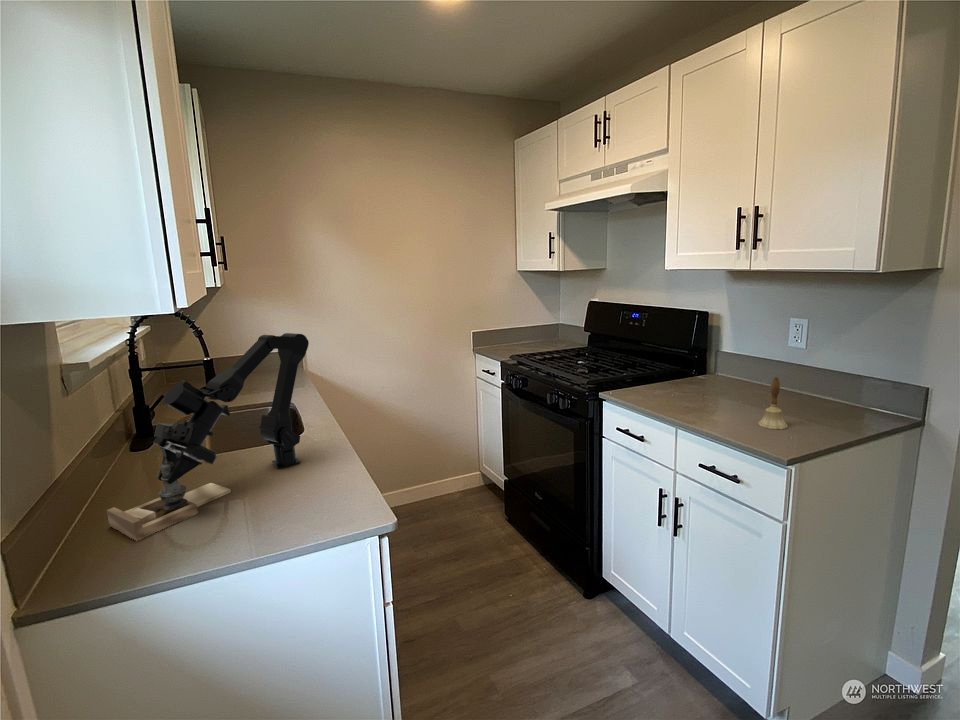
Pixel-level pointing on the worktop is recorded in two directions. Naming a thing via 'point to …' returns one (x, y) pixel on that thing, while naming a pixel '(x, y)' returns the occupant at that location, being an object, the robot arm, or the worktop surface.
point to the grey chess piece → (171, 489)
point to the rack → (138, 531)
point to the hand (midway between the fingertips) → (164, 481)
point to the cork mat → (205, 494)
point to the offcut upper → (143, 515)
